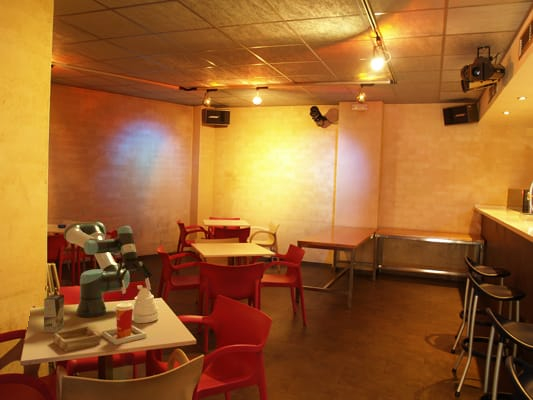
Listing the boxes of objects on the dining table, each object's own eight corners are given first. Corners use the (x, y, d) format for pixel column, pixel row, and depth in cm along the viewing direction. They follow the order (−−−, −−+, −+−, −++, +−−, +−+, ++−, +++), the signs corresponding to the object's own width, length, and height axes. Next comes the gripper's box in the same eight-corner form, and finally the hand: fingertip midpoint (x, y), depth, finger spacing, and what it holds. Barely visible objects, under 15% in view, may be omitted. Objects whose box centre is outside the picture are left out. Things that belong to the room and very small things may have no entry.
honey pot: (133, 324, 231) (130, 289, 230) (133, 317, 243) (131, 284, 242) (159, 320, 234) (156, 286, 233) (158, 313, 247) (155, 281, 246)
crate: (53, 341, 204) (53, 333, 203) (87, 335, 214) (87, 326, 214) (65, 351, 193) (65, 342, 192) (99, 343, 203) (100, 335, 202)
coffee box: (57, 332, 216) (57, 299, 215) (43, 332, 215) (43, 299, 215) (64, 326, 225) (64, 294, 224) (50, 326, 225) (50, 294, 224)
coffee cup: (117, 333, 217) (117, 302, 216) (134, 333, 217) (135, 302, 217) (112, 339, 208) (113, 307, 208) (131, 339, 209) (131, 307, 208)
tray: (101, 335, 213) (102, 331, 213) (131, 329, 223) (131, 325, 223) (115, 344, 202) (115, 340, 202) (146, 337, 212) (146, 333, 212)
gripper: (109, 252, 231) (116, 291, 223) (153, 249, 248) (162, 286, 240) (103, 257, 236) (110, 296, 228) (147, 255, 253) (155, 291, 245)
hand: (137, 291), depth 234 cm, fingers open, 13 cm apart
